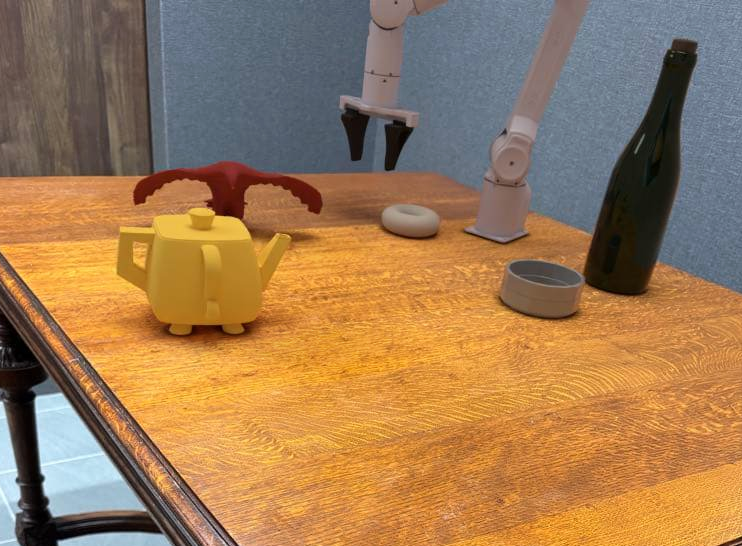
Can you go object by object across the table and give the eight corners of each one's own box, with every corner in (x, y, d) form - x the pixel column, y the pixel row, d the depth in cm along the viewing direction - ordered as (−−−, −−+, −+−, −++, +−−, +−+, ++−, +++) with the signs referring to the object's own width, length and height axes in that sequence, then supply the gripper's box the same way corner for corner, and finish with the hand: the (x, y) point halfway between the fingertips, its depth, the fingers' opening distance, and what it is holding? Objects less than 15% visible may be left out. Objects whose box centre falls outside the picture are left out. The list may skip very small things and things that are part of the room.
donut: (437, 244, 133) (439, 226, 141) (440, 223, 131) (442, 205, 139) (377, 235, 134) (383, 218, 142) (380, 214, 131) (385, 197, 139)
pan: (521, 283, 122) (527, 253, 119) (589, 306, 117) (597, 276, 115) (484, 301, 114) (491, 269, 111) (556, 326, 110) (564, 293, 107)
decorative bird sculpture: (136, 250, 127) (132, 195, 112) (133, 196, 128) (129, 135, 114) (313, 257, 134) (331, 206, 120) (309, 206, 135) (325, 149, 121)
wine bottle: (568, 278, 126) (632, 31, 107) (602, 267, 133) (669, 33, 113) (626, 300, 121) (705, 45, 101) (659, 288, 128) (739, 46, 108)
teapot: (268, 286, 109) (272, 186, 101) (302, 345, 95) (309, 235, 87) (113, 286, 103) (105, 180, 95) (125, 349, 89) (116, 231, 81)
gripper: (330, 65, 128) (324, 157, 136) (405, 83, 122) (394, 178, 130) (357, 64, 133) (349, 153, 141) (430, 81, 127) (418, 173, 135)
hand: (372, 165), depth 136 cm, fingers open, 6 cm apart
